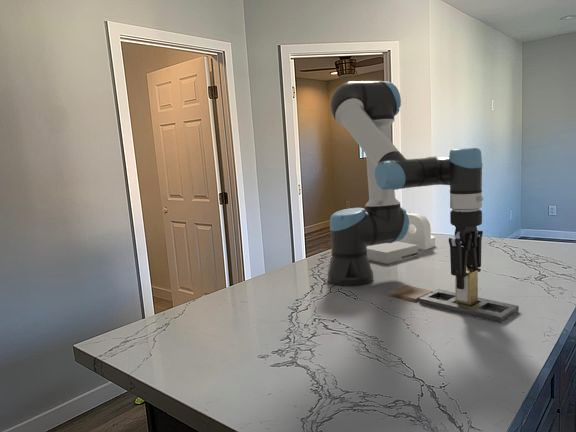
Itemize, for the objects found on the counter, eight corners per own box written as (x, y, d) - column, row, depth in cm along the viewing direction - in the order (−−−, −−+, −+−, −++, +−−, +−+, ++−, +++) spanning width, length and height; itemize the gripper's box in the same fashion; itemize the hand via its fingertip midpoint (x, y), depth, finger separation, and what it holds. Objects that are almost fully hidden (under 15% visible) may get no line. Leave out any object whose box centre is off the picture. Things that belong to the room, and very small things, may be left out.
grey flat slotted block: (419, 303, 121) (419, 298, 120) (438, 294, 127) (438, 289, 127) (501, 323, 104) (501, 317, 104) (518, 311, 110) (518, 305, 110)
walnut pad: (388, 295, 129) (388, 292, 129) (406, 287, 135) (406, 285, 134) (415, 301, 122) (415, 299, 122) (433, 293, 128) (433, 290, 128)
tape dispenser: (425, 249, 181) (424, 216, 179) (388, 244, 195) (387, 213, 193) (439, 244, 189) (439, 212, 187) (404, 240, 202) (403, 209, 200)
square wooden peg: (455, 307, 116) (455, 271, 114) (463, 303, 118) (462, 267, 117) (470, 311, 113) (470, 273, 111) (477, 307, 115) (477, 270, 114)
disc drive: (377, 248, 192) (377, 237, 191) (418, 256, 173) (418, 244, 172) (346, 255, 182) (346, 243, 182) (386, 265, 164) (385, 252, 163)
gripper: (463, 215, 103) (464, 310, 107) (495, 205, 114) (495, 292, 118) (434, 213, 109) (436, 303, 112) (468, 204, 120) (468, 287, 123)
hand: (466, 297), depth 115 cm, fingers closed on square wooden peg, 4 cm apart
